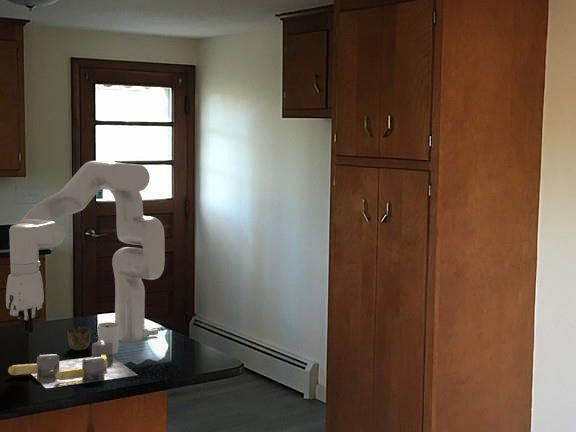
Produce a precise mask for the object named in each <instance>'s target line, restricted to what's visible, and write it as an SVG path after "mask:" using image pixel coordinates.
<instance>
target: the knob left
mask: <svg viewBox="0 0 576 432" xmlns="http://www.w3.org/2000/svg"><path fill="white" fill-rule="evenodd" d="M91 357H92V356H91ZM85 358H86V359H83V360H82V368H74V369H67V370H59V372H57V373H56V374H55V377H56V379H58V380H60V381H61V380H68V379H75V378H82V379H83V380H85V381H95V382H100V380H102V381H104V380H103V379H104V372H105V360H104V359H103V358H101V357H92V358H88V357H85Z"/></svg>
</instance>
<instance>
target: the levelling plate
mask: <svg viewBox="0 0 576 432" xmlns="http://www.w3.org/2000/svg"><path fill="white" fill-rule="evenodd" d="M86 358H92V356H90V357H83V358H75V359H66V360H59V370H67V369H74V368H82V360H83V359H86ZM30 375H32V377H33V378H34V379H36V381H38V383H39V384H40V385H42V386H43V387H44V388H45V389H51V388H52V389H53V388H58V387H64V386H65V387H66V386H73V385H80V384H86V383H94V382H96V381H85V380H83V379H82V378H75V379H68V380H61V381H60V380H58V379H56V377H52V378H41V377H38V376H37V373H36V374H30ZM136 376H138V374H137V373H136V372H135V371H133V370H132V369H130V368H129V367H127V366H126V365H124V364H123V363H122V362H120V361H119V360H117V359H116V358H114V357H113V361H112V362H109V363H108V365H107V367H105V372H104V379H103V380H100V381H107V380H116V379H121V378H128V377H136ZM100 381H99V382H100Z"/></svg>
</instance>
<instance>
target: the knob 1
mask: <svg viewBox="0 0 576 432" xmlns="http://www.w3.org/2000/svg"><path fill="white" fill-rule="evenodd" d="M59 361H60V355H58V354H57V353H56V354H53V353H50V354H49V353H47V354H45V353H44V354H39V356H37V357H36V363H25V364H13V365H12V366H9V367H8V368H7V369H8V370H7V371H8V373H9V374H10V375H12V376H19V375H20V376H21V375H31V374H36V373H37V376H38V377H41V378H52V377H55V374H56V373H57V372H59Z"/></svg>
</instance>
